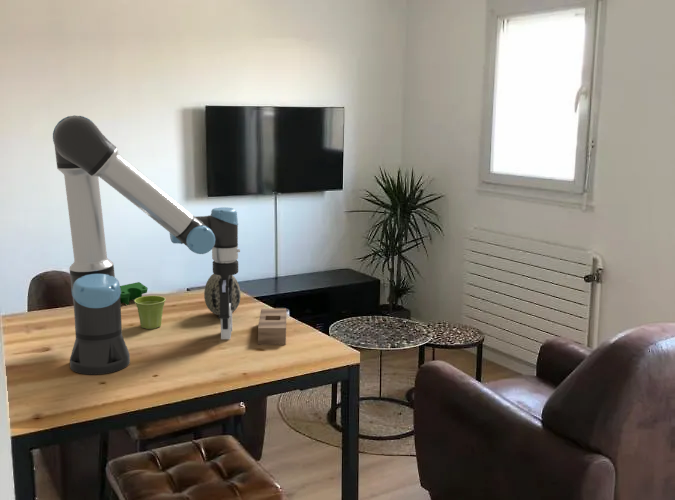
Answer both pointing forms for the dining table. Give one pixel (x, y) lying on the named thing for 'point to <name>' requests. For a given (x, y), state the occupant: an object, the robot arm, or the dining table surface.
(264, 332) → the hole block
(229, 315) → the steel peg
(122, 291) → the clamp
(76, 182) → the robot arm
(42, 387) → the dining table surface
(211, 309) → the decorative egg
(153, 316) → the plant pot
